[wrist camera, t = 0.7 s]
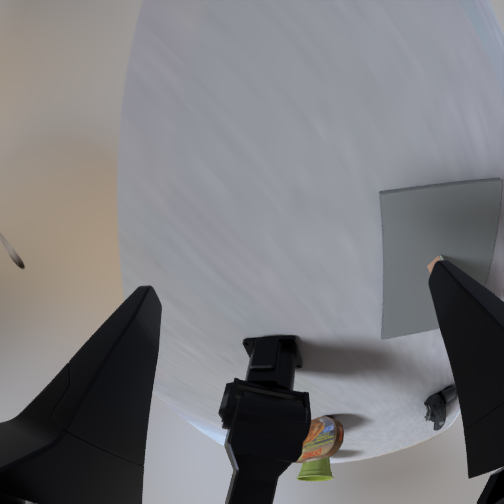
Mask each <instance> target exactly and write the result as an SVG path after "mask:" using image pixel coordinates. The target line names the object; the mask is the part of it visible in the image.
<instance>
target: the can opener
mask: <svg viewBox="0 0 504 504" xmlns="http://www.w3.org/2000/svg"><path fill="white" fill-rule="evenodd" d="M456 398H457V390H456V388H455V387H451V388H449V389H446V390H444V391H442V392H441V397H440V395H438V394H435V395H433V396H431V397H430V398H428V399H427V400H426V401H425V402H424V405H426V409H427V414H426V416H425V417H424V418H426V421H427V420H429V421H430V420H431V421H432V422H434V430H439V429H441V428H442V426H443V425H444V423H445V420H446V407H447V406H448V405H449V404H451V403H452V402H453V401H455V400H456Z"/></svg>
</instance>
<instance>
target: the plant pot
mask: <svg viewBox="0 0 504 504" xmlns="http://www.w3.org/2000/svg"><path fill="white" fill-rule="evenodd" d="M297 479H298V480H303V481H325V480H330V479H333V476H332V472H331V470H330V459H329V457H326V458H322V459H318V460H313V461H309V462H305V463H303V464H302V468H301V471H300V473H299V476H298V477H297Z"/></svg>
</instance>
